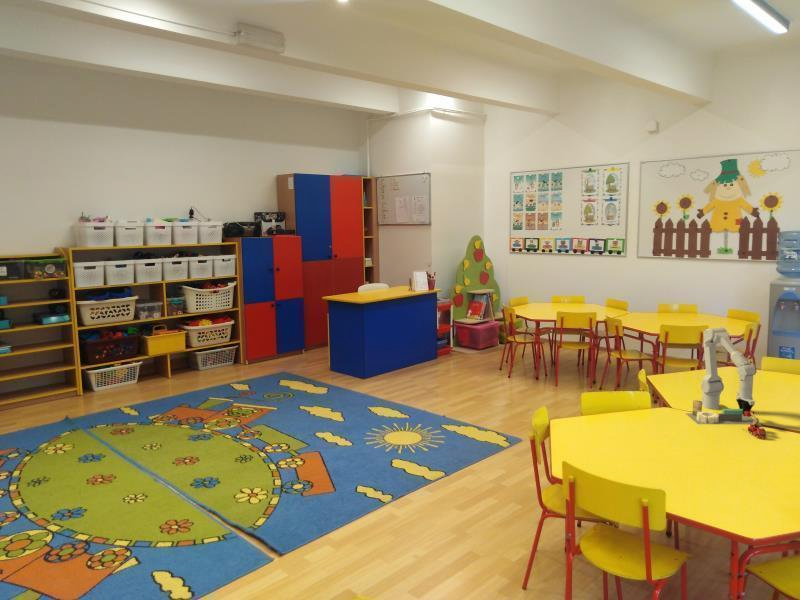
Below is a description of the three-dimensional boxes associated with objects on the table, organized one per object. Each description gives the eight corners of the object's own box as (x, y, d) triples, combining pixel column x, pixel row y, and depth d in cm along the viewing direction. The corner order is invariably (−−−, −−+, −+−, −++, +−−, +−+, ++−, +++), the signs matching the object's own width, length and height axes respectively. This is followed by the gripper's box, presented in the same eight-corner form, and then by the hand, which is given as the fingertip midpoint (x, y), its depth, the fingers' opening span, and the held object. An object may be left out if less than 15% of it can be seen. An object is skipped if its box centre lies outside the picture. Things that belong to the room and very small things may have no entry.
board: (685, 415, 312) (685, 407, 311) (746, 415, 309) (746, 407, 308) (697, 426, 296) (697, 417, 295) (761, 426, 293) (762, 418, 292)
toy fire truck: (759, 439, 277) (760, 419, 276) (743, 429, 291) (744, 409, 289) (766, 439, 277) (767, 419, 276) (750, 429, 291) (751, 409, 289)
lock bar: (721, 412, 301) (722, 408, 301) (747, 412, 300) (747, 408, 300) (724, 414, 298) (724, 410, 298) (749, 414, 297) (749, 410, 297)
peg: (691, 413, 311) (691, 400, 310) (699, 413, 311) (700, 400, 310) (694, 416, 307) (694, 402, 306) (702, 416, 307) (703, 402, 306)
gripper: (730, 384, 305) (729, 410, 306) (744, 392, 290) (742, 419, 292) (745, 384, 304) (743, 410, 306) (759, 392, 290) (758, 419, 291)
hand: (744, 414), depth 299 cm, fingers closed on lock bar, 3 cm apart
